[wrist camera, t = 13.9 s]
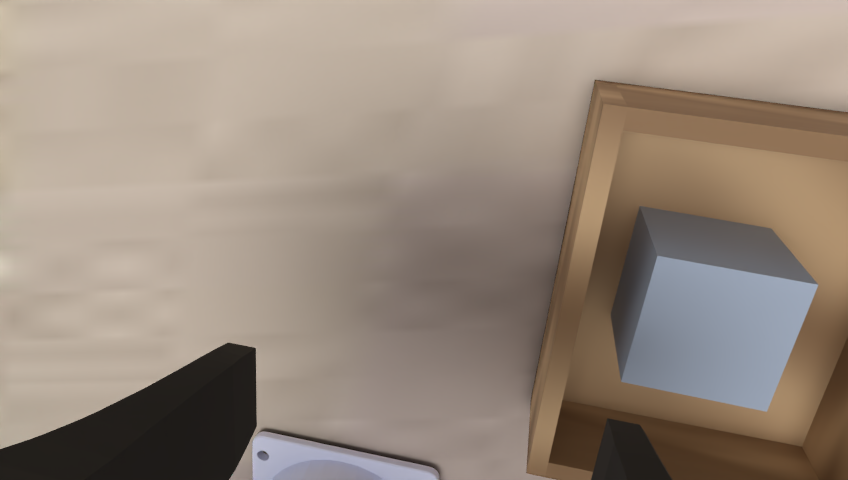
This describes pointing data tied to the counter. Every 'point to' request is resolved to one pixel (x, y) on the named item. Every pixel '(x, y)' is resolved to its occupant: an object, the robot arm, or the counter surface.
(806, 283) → the block
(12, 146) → the counter surface
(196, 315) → the counter surface
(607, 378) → the wooden box
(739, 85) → the counter surface
